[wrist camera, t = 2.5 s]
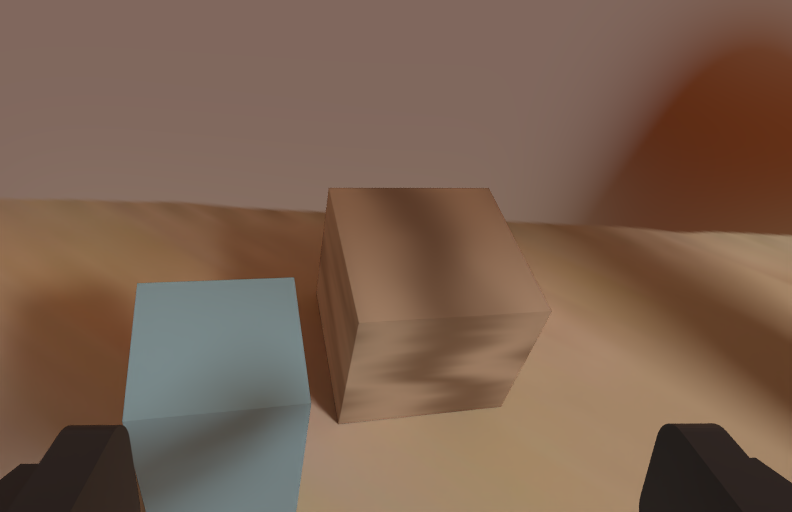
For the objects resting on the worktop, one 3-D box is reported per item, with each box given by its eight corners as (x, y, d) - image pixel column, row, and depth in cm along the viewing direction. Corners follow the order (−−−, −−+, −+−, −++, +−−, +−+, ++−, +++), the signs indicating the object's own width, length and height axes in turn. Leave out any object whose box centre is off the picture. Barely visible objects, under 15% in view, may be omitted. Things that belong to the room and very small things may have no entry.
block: (454, 285, 39) (488, 188, 33) (501, 406, 33) (551, 311, 27) (316, 292, 36) (328, 187, 31) (338, 424, 30) (358, 323, 25)
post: (279, 449, 29) (293, 277, 21) (289, 558, 25) (311, 403, 17) (169, 462, 27) (137, 283, 19) (163, 579, 24) (122, 421, 16)
